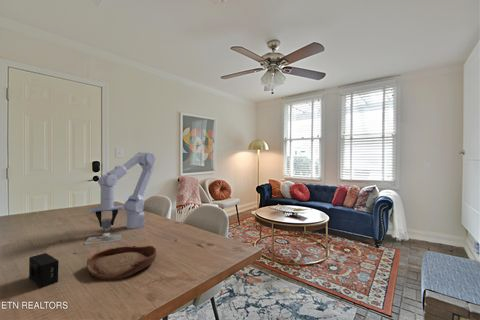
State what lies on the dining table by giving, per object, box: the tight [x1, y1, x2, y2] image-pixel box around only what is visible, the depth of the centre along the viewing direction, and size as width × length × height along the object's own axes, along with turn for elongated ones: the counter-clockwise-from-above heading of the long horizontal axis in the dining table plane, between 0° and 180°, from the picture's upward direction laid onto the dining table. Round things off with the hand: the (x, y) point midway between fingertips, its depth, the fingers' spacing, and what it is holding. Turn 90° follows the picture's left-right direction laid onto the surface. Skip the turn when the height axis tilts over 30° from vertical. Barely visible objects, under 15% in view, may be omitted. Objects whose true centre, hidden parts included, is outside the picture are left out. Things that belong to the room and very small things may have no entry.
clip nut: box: [100, 218, 113, 232], centre depth 111 cm, size 4×4×5 cm
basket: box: [86, 245, 157, 281], centre depth 81 cm, size 22×20×5 cm
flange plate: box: [84, 233, 123, 245], centre depth 104 cm, size 14×8×2 cm, turn 114°
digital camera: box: [28, 252, 59, 289], centre depth 70 cm, size 10×5×7 cm, turn 58°
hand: (106, 225), depth 111 cm, fingers closed on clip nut, 4 cm apart
